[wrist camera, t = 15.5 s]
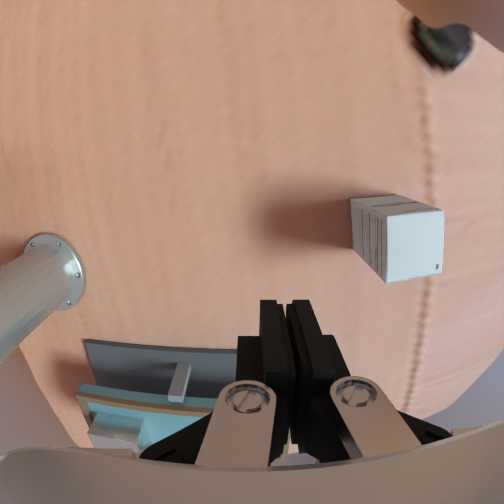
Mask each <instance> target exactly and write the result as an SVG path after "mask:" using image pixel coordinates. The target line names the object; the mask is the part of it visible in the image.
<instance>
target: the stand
mask: <svg viewBox="0 0 504 504" xmlns="http://www.w3.org/2000/svg"><path fill="white" fill-rule="evenodd" d="M85 345H86V348H87V352H88V355H89V359H90V362H91V366H92V369H93V372H94V375H95V378H96V382H97V385H98V386H101V387H107V388H114V389H120V390H127V391H135V392H143V393H151V394H160V395H168V400H169V401H170V402H182V403H183V400H184V397H196V398H214V399H218V397H219V394H220V393H221V391H222V389H223V388H225V387H226V386H227V385H229V384H231V383H234V382H235V380H236V362H237V349H202V348H181V347H165V346H151V345H138V344H127V343H117V342H108V341H99V340H91V339H88V340H87V341H86V342H85Z"/></svg>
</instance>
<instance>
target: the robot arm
mask: <svg viewBox="0 0 504 504" xmlns="http://www.w3.org/2000/svg"><path fill="white" fill-rule="evenodd" d="M84 289H85V272H84V268H83V265H82V262H81V260H80V258H79V256H78V254H77V253H76V251H75V250H74V248H73V247H72V246H71V245H70V244H69V243H68V242H67V241H66V240H65V239H63V238H61V237H60V236H57V235H54V234H49V233H45V234H40V235H38V236H36V237H34V238H33V239H31V240H30V241H29V242H28V243H27V245H26V247H25V249H24V252H23V255H21V256H20V257H18V258H16V259H14V260H12V261H11V262H9V263H5V262H4V263H2V264H1V267H0V364H1V363H2V362H3V361H4V360H5V359H6V357H7V356H8V355H9V354H10V353H11V352H12V351H13V350H14V349H15V348H16V347H17V346H18V345H19V344H20V343H21V342H22V341H23V340H24V339H25V338H26V337H27V336H28V335H29V334H30V333H31V332H32V331H33V330H34V329H35V328H36V327H37V326H39V325H40V324H41V323H42V322H43V321H44V320H45V319H46V318H47V317H48V316H49V315H50V314H51V313H52V312H53V311H54V310H66V309H69V308H71V307H73V306H74V305H75V304H76V303H77V302H78V301H79V300H80V299H81V297H82V295H83V293H84ZM289 428H290V435H291V442H292V444H298V449H299V453H308V454H309V455H311V456H313V457H314V464H308V465H293V466H292V465H291V466H270V463H272V462H273V461H274V460H275V459H277V458H278V457H279V456H280V455H281V454H283V449H284V445H287V441H288V434H289ZM0 504H504V419H503V420H500V421H497V422H494V423H492V424H489V425H486V426H481V427H473V428H463V429H452V431H451V432H450V433H449V432H448V431H446V430H444V429H443V428H441V427H438V426H435V425H433V424H430V423H428V422H425V421H422V420H420V419H417V418H415V417H412V416H410V415H407V414H405V413H403V412H400V411H398V410H396V408H395V407H394V406H393V404H392V403H391V402H390V400H389V399H388V398H387V396H386V395H385V393H384V392H383V391H382V389H381V388H380V387H379V386H378V385H377V384H376V383H375V382H373V381H371V380H370V379H367V378H364V377H358V376H351V375H350V373H349V370H348V368H347V366H346V363H345V361H344V359H343V356H342V354H341V352H340V349H339V347H338V345H337V342H336V340H335V338H334V336H333V335H322V332H321V330H320V327H319V324H318V322H317V319H316V317H315V314H314V311H313V309H312V306H311V304H310V301H309V300H293V301H292V304H287V306H286V319H285V314H284V309H283V305H282V304H277V301H276V300H260V329H259V336H238V345H237V362H236V380H235V382H234V383H231V384H229V385H227V386H226V387H225V388H223V389H222V391H221V393H220V394H219V397H218V400H217V403H216V405H215V408H214V411H213V412H211V413H210V414H208V415H206V416H204V417H203V418H201V419H199V420H197V421H196V422H194V423H192V424H190V425H188V426H187V427H185V428H183V429H181V430H179V431H177V432H175V433H174V434H172V435H170V436H168V437H166V438H164V439H162V440H160V441H158V442H156V443H154V444H152V445H150V446H149V447H147V448H146V449H145V450H144V451H143V452H134V451H133V449H106V448H81V447H53V446H43V447H25V448H19V449H14V450H11V451H9V452H7V453H5V454H4V455H2V456H1V457H0Z"/></svg>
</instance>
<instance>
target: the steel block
mask: <svg viewBox="0 0 504 504" xmlns="http://www.w3.org/2000/svg"><path fill="white" fill-rule="evenodd" d="M87 434H88V436H89V438H90V440H91V442H92V444H93V446H94V448H106V449H133V451H134V452H143V451H144V450H145V449H146V448H147V447H149V446H150V445H152V441H151V438H150V435H149V432H148V429H147V426H146V423H145V420H144V419H139V418H132V417H125V416H119V415H113V414H107V413H102V412H98V413H97V415H96V416H95V418H94V420H93V422H92V424H91V426H90V428H89V430H88V432H87Z"/></svg>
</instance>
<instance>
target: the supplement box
mask: <svg viewBox="0 0 504 504" xmlns="http://www.w3.org/2000/svg"><path fill="white" fill-rule="evenodd" d="M350 204H351V220H352V240H353V250H354V251H355V252H356V253H357V254H358V255H359V256H360V257H361V258H362V259H363V260H364V261H365V262H366V263H367V264H368V265H369V266H370V267H371V268H372V269H373V270H374V271H375V272H376V273H377V274H378V276H379V277H380V278H381V279H382V280H383V281H384V282H385V283H387V284H388V283H394V282H399V281H405V280H410V279H416V278H421V277H426V276H431V275H436V274H441V273H442V262H443V244H444V211H443V210H441V209H438V208H435V207H432V206H429V205H427V204H424V203H421V202H418V201H415V200H412V199H409V198H406V197H403V196H400V195H397V194H395V195H388V196H380V197H368V198H353V199H350Z"/></svg>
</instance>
